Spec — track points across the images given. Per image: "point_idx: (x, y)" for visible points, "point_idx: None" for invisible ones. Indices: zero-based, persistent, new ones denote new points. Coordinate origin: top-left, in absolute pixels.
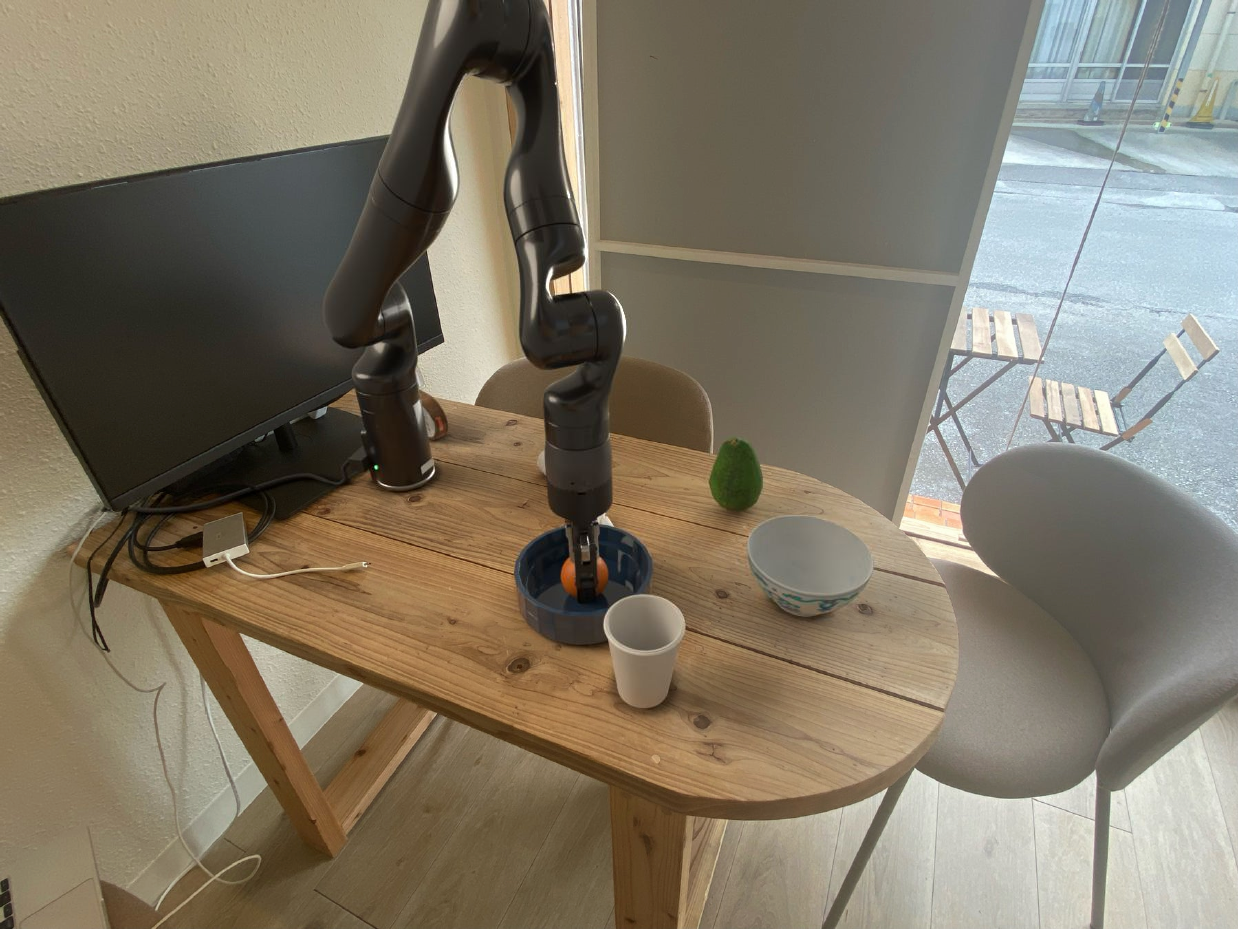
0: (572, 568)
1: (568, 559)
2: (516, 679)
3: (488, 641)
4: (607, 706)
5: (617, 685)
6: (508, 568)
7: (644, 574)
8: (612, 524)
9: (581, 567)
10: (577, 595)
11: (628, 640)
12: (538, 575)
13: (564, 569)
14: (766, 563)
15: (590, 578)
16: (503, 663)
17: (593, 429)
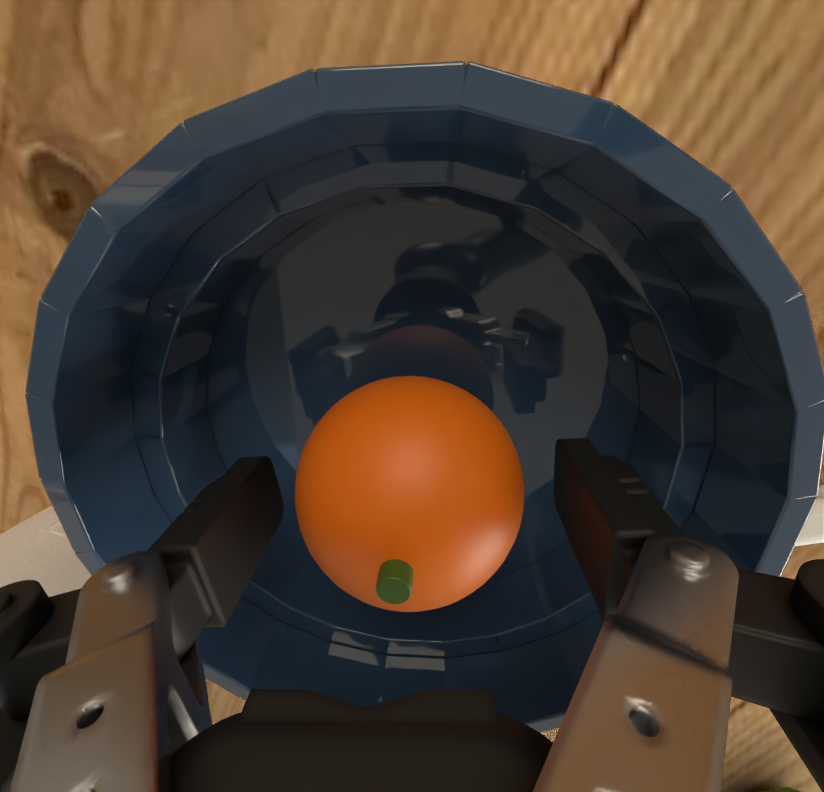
0: (340, 495)
1: (429, 470)
2: (5, 196)
3: (145, 20)
4: (20, 471)
5: (30, 518)
6: (658, 38)
7: (431, 650)
8: (809, 543)
9: None
10: (219, 481)
11: None
12: (543, 231)
13: (370, 436)
14: None
15: (8, 711)
16: (54, 126)
17: None
